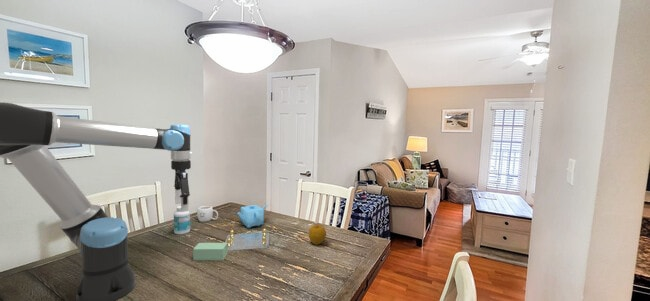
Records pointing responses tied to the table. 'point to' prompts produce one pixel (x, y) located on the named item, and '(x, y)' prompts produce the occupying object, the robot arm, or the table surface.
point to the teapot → (252, 215)
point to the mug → (205, 213)
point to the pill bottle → (181, 221)
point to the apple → (317, 234)
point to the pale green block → (210, 251)
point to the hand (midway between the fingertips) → (181, 207)
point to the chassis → (247, 241)
